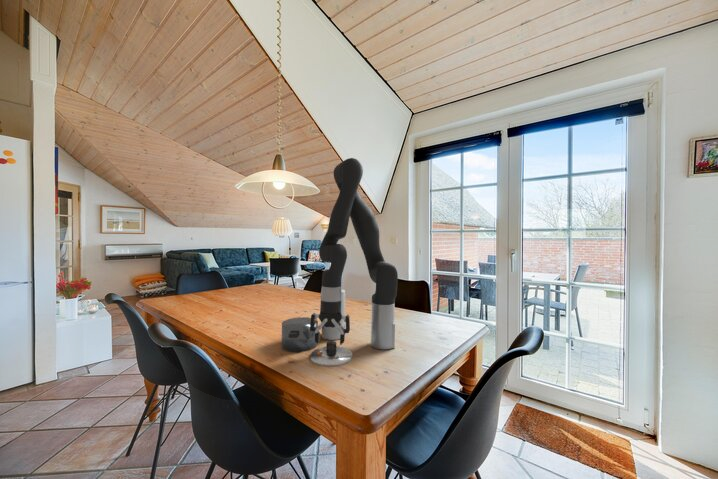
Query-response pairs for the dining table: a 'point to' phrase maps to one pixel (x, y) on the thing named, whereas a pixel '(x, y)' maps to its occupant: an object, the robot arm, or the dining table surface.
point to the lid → (331, 355)
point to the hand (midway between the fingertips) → (329, 343)
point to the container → (334, 332)
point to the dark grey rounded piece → (298, 335)
